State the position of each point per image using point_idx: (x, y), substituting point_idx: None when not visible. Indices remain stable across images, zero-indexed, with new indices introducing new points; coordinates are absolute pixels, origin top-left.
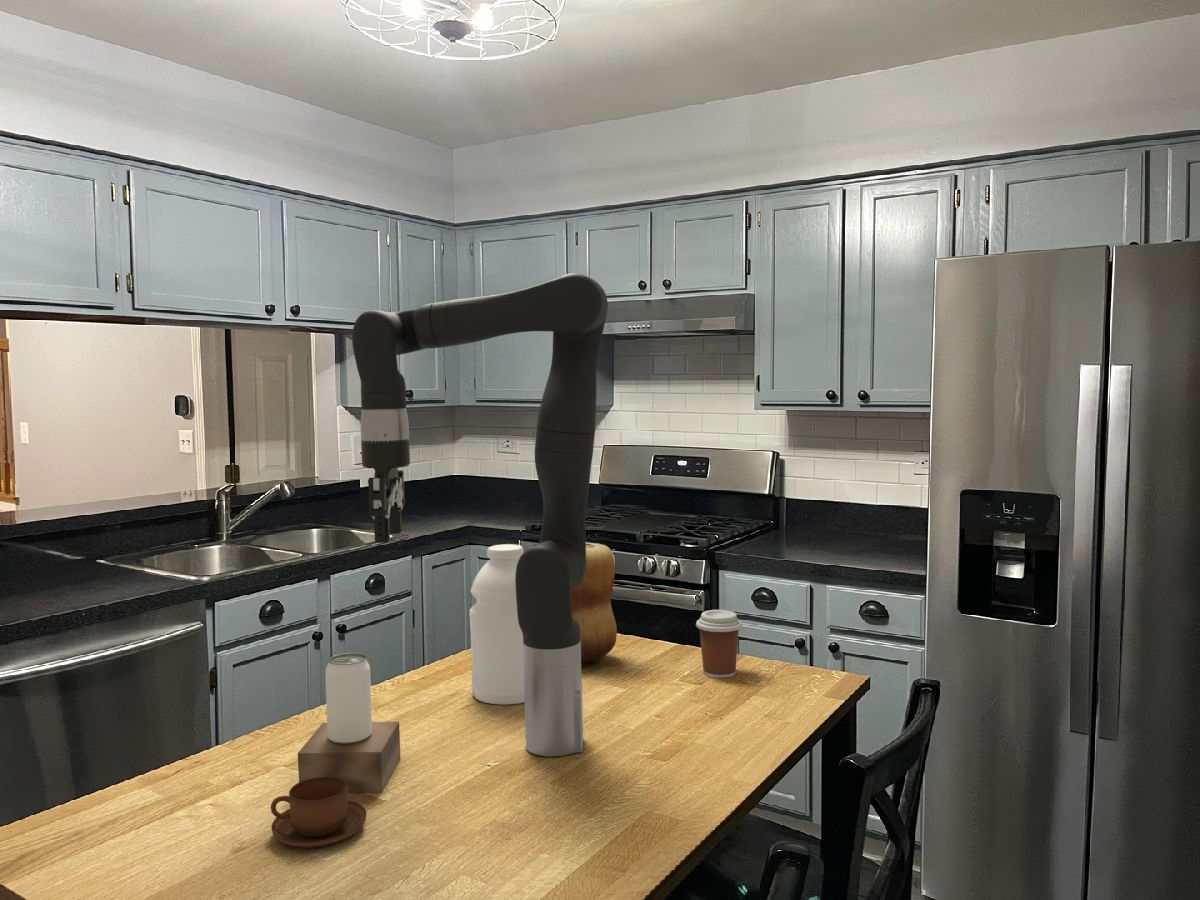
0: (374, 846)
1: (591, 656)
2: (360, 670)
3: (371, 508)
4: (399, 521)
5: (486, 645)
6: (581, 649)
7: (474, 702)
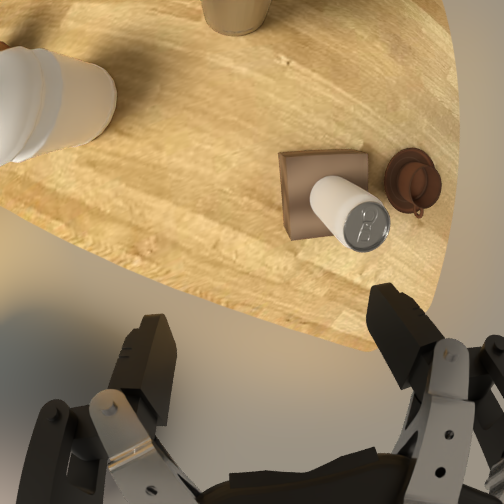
0: (424, 136)
1: None
2: (379, 200)
3: (493, 394)
4: (152, 351)
5: (82, 111)
6: None
7: (110, 130)
